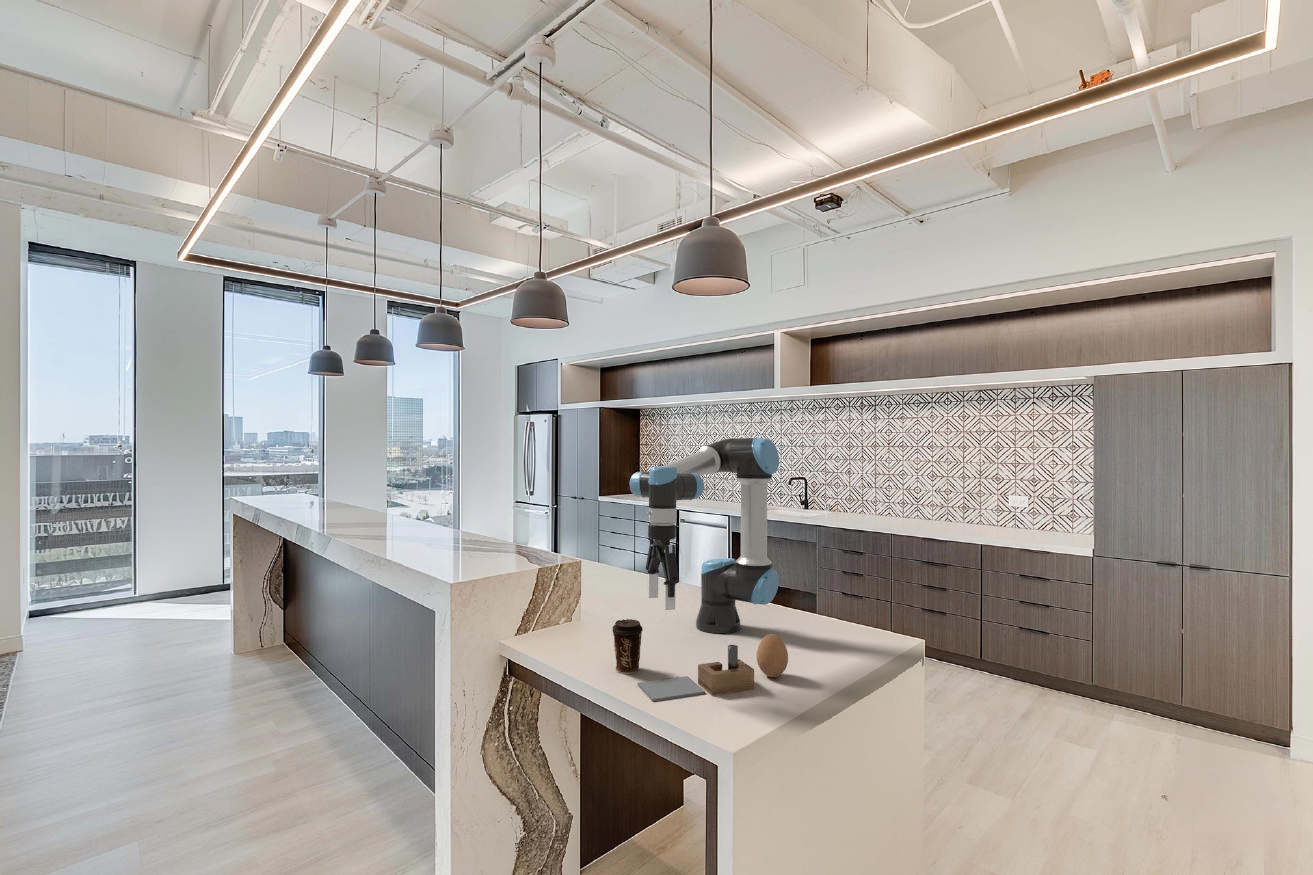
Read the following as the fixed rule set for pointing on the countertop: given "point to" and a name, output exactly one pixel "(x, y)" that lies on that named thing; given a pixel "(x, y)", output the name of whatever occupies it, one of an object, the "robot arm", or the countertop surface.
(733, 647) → the post stand
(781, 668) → the egg
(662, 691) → the mat
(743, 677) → the c link
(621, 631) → the coffee cup
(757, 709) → the countertop surface
